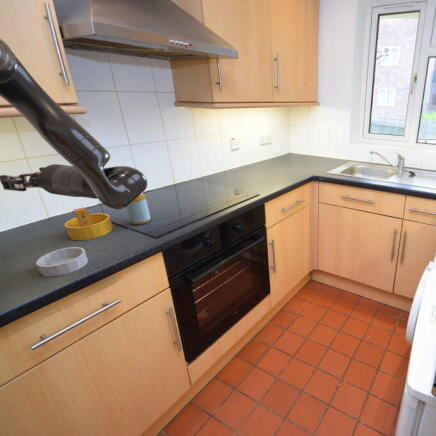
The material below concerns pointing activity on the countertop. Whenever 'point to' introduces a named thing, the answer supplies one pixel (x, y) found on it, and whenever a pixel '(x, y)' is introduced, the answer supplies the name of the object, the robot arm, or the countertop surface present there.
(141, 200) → the bottle
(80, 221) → the supplement box
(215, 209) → the countertop surface
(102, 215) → the yellow bowl
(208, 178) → the countertop surface
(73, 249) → the gray bowl
